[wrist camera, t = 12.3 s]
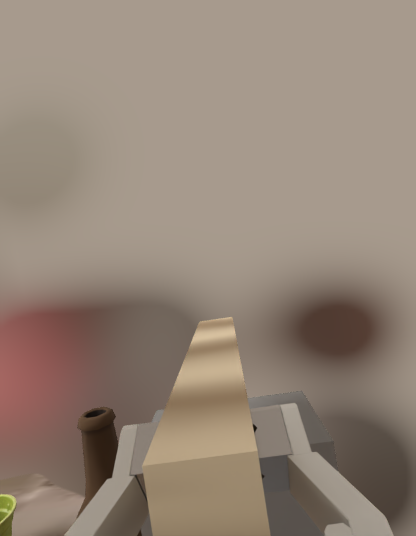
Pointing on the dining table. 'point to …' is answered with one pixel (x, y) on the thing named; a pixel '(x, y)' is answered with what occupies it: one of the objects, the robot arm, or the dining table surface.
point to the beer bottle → (98, 450)
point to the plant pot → (6, 514)
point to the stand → (283, 503)
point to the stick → (206, 447)
